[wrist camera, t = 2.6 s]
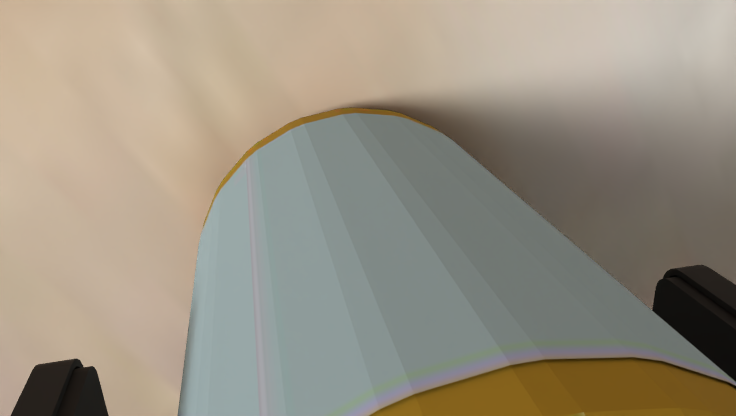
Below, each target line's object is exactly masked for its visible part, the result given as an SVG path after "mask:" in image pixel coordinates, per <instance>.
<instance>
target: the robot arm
mask: <svg viewBox="0 0 736 416" xmlns="http://www.w3.org/2000/svg"><path fill="white" fill-rule="evenodd" d="M652 311H653V312H654V313H656V314H657V315H658V316H659V317H660V318H661V319H663V320H664V321H665V322H666V323H667V324H668V325H670V326H671V327H672V328H673V329H674V330H675V331H677V332H678V333H679V334H680V335H681V336H682V337H684V338H685V339H686V340H687V341H688V342H690V343H691V344H692V345H693V346H694V347H695V348H697V349H698V350H699V351H700V352H701V353H702V354H704V355H705V356H706V357H707V358H708V359H709V360H711V361H712V362H713V363H714V364H715V365H716V366H718V367H719V368H720V369H721V370H722V371H724V372H725V373H726V374H727V375H728V376H729V377H731V378H732V379H733V380H734V381H735V382H736V285H735V284H733V283H732V282H730V281H729V280H727V279H726V278H724V277H722V276H721V275H719V274H718V273H716V272H715V271H713V270H712V269H710V268H709V267H706V266H704V265H695V266H689V267H682V268H675V269H670V270H669V271H667V272H666V273H665V275H664V277H663V279H661V280H659V282H658V283H657V286H656V291H655V297H654V304H653V310H652ZM11 416H108V412H107V408H106V405H105V401H104V397H103V393H102V389H101V385H100V382H99V378H98V374H97V371H96V369H95V368H94V367H93V366H90V367H84V368H83V365H82V363H81V361H80V360H78V359H71V360H65V361H58V362H52V363H45V364H39V365H36V366H35V367H34V369H33V370H32V372H31V374H30V376H29V378H28V381H27V383H26V385H25V387H24V389H23V391H22V393H21V395H20V397H19V399H18V401H17V404H16V406H15V408H14V410H13V412H12V414H11Z"/></svg>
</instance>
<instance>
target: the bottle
mask: <svg viewBox="0 0 736 416" xmlns="http://www.w3.org/2000/svg"><path fill="white" fill-rule="evenodd" d="M178 416H736V382H735V381H734V380H733V379H732V378H731V377H729V376H728V375H727V374H726V373H725V372H724V371H722V370H721V369H720V368H719V367H718V366H716V365H715V364H714V363H713V362H712V361H711V360H709V359H708V358H707V357H706V356H705V355H704V354H702V353H701V352H700V351H699V350H698V349H697V348H695V347H694V346H693V345H692V344H691V343H690V342H688V341H687V340H686V339H685V338H684V337H682V336H681V335H680V334H679V333H678V332H677V331H675V330H674V329H673V328H672V327H671V326H670V325H668V324H667V323H666V322H665V321H664V320H663V319H661V318H660V317H659V316H658V315H657V314H656V313H654V312H653V311H652V310H651V309H650V308H648V307H647V306H646V305H645V304H644V303H643V302H641V301H640V300H639V299H638V298H637V297H636V296H634V295H633V294H632V293H631V292H630V291H629V290H627V289H626V288H625V287H624V286H623V285H622V284H620V283H619V282H618V281H617V280H616V279H615V278H613V277H612V276H611V275H610V274H609V273H607V272H606V271H605V270H604V269H603V268H602V267H600V266H599V265H598V264H597V263H596V262H595V261H593V260H592V259H591V258H590V257H589V256H588V255H586V254H585V253H584V252H583V251H582V250H581V249H579V248H578V247H577V246H576V245H575V244H573V243H572V242H571V241H570V240H569V239H568V238H566V237H565V236H564V235H563V234H562V233H561V232H559V231H558V230H557V229H556V228H555V227H554V226H552V225H551V224H550V223H549V222H548V221H547V220H545V219H544V218H543V217H542V216H541V215H540V214H538V213H537V212H536V211H535V210H534V209H532V208H531V207H530V206H529V205H528V204H527V203H525V202H524V201H523V200H522V199H521V198H520V197H518V196H517V195H516V194H515V193H514V192H513V191H511V190H510V189H509V188H508V187H507V186H506V185H504V184H503V183H502V182H501V181H500V180H498V179H497V178H496V177H495V176H494V175H493V174H491V173H490V172H489V171H488V170H487V169H486V168H484V167H483V166H482V165H481V164H480V163H479V162H477V161H476V160H475V159H474V158H473V157H472V156H470V155H469V154H468V153H467V152H466V151H464V150H463V149H462V148H461V147H460V146H459V145H457V144H456V143H455V142H454V141H453V140H452V139H450V138H449V137H447V136H445V135H444V134H443V133H441V132H440V131H438V130H437V129H435V128H434V127H432V126H430V125H428V124H425V123H423V122H420V121H418V120H416V119H413V118H411V117H408V116H406V115H404V114H401V113H398V112H393V111H389V110H379V109H364V108H342V109H335V110H331V111H327V112H323V113H319V114H315V115H311V116H307V117H303V118H300V119H298V120H295V121H293V122H291V123H288V124H287V125H285V126H284V127H282V128H280V129H279V130H277V131H276V132H274V133H272V134H271V135H269V136H267V137H266V138H264V139H263V140H261V141H259V142H258V143H256V144H255V145H254V146H253V147H252V148H250V149H249V150H248V151H247V152H246V153H245V154H244V155H243V157H242V158H241V159H240V160H239V161H238V163H237V164H236V165H235V166H234V167H233V168H232V170H231V171H230V172H229V173H228V174H227V176H226V177H225V178H224V179H223V181H222V182H221V184H220V186H219V187H218V189H217V191H216V193H215V196H214V198H213V201H212V203H211V206H210V209H209V211H208V214H207V216H206V219H205V221H204V225H203V230H202V233H201V237H200V242H199V247H198V255H197V264H196V272H195V280H194V288H193V296H192V304H191V312H190V320H189V328H188V336H187V344H186V352H185V360H184V368H183V377H182V385H181V393H180V401H179V409H178Z"/></svg>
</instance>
